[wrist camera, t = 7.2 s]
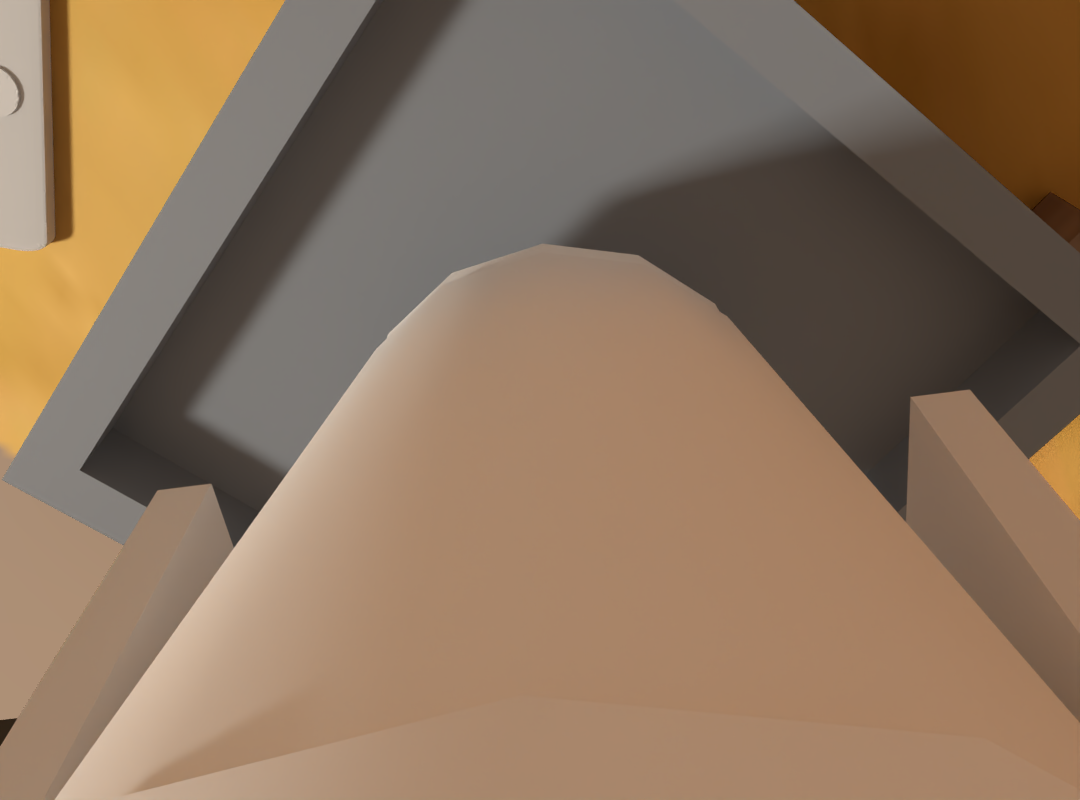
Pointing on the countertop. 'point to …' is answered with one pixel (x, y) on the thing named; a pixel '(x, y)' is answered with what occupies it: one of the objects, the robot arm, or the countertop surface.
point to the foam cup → (580, 586)
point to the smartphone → (26, 126)
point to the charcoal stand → (553, 234)
